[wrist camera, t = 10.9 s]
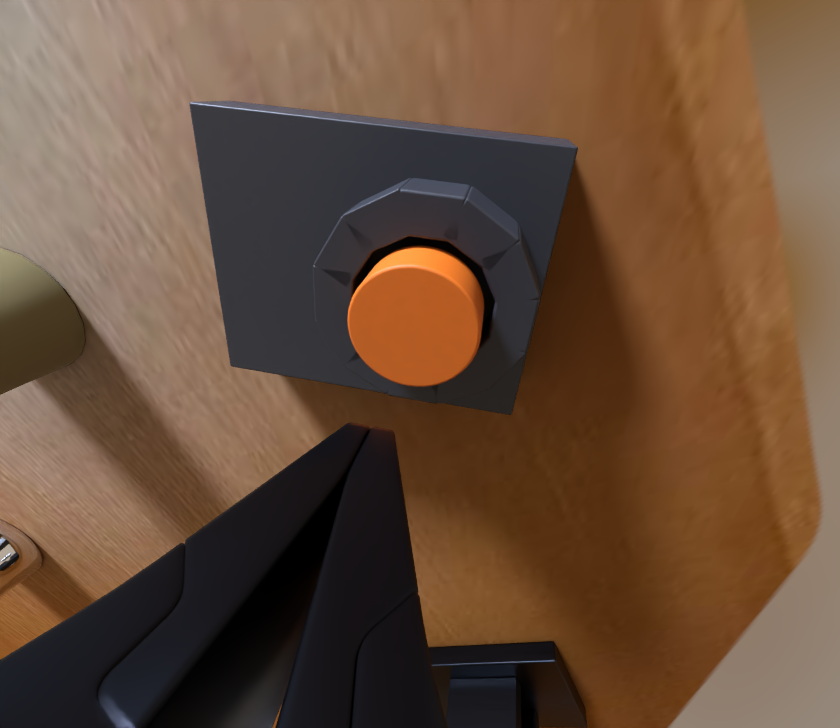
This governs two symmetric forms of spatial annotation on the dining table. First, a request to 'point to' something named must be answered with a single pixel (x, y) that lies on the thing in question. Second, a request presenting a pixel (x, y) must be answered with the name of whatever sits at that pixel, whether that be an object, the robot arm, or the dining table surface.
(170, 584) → the robot arm
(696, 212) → the dining table surface
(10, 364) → the olive game pawn
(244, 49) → the dining table surface
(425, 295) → the button
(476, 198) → the button box
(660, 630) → the dining table surface
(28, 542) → the beer glass
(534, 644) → the switch bracket
